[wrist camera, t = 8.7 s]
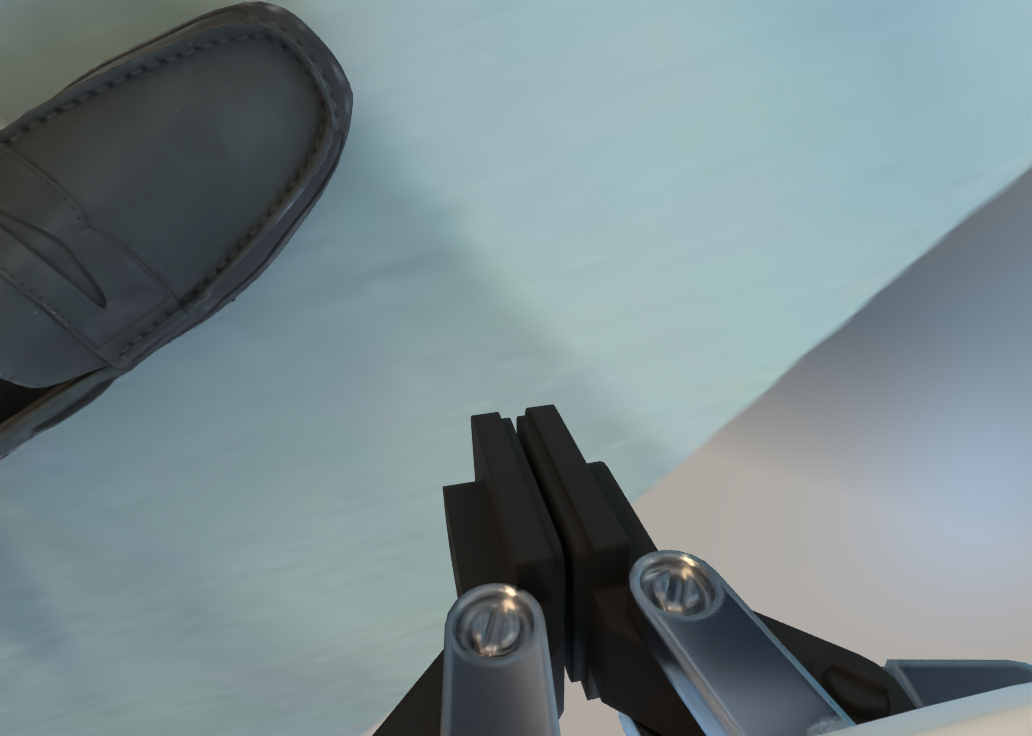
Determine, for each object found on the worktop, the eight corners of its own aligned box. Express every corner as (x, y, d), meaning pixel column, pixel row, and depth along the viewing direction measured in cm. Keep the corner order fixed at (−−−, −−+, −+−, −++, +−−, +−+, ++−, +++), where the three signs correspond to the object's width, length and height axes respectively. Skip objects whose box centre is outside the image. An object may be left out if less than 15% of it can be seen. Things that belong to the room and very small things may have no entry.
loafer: (402, 131, 28) (416, 150, 19) (25, 500, 32) (-109, 661, 23) (219, -76, 24) (126, -177, 15) (-198, 386, 27) (-478, 532, 18)
